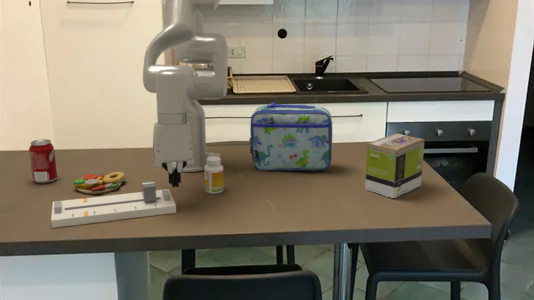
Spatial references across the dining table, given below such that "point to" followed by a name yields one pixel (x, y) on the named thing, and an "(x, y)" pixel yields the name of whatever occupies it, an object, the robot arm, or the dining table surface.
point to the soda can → (43, 161)
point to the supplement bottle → (214, 175)
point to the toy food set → (99, 183)
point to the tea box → (394, 165)
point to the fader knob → (148, 190)
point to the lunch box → (291, 137)
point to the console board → (110, 208)
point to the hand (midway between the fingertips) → (174, 185)
